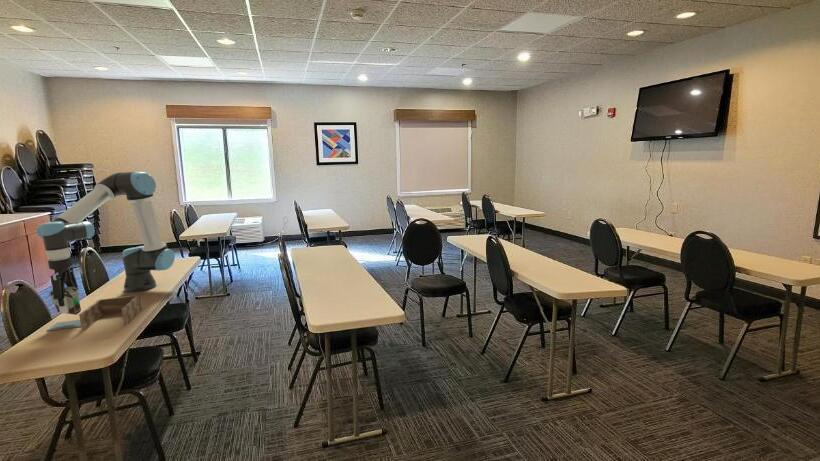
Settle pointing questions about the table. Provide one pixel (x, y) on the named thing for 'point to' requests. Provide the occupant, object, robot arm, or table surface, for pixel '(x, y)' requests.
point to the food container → (69, 300)
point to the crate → (111, 309)
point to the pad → (65, 325)
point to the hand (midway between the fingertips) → (69, 309)
